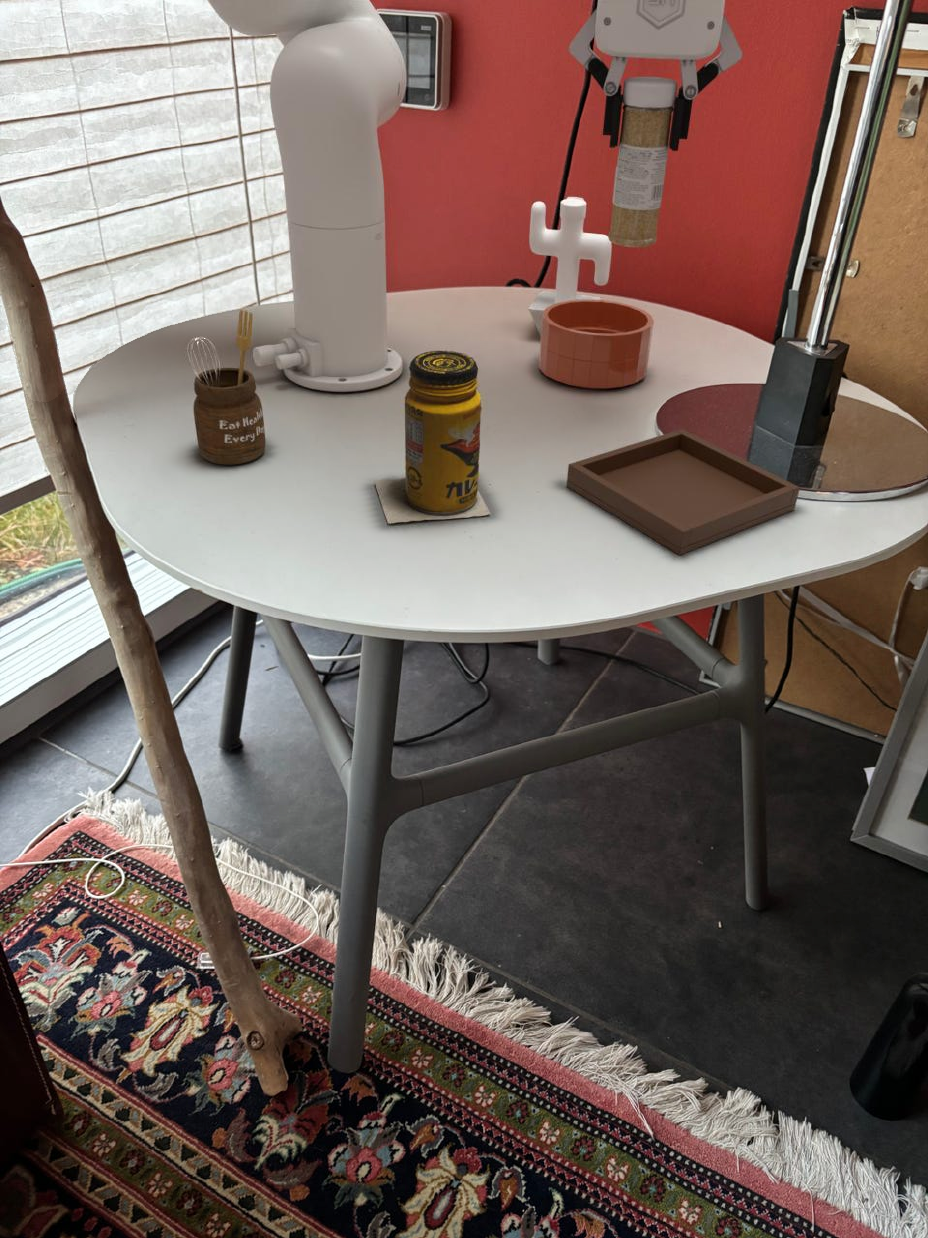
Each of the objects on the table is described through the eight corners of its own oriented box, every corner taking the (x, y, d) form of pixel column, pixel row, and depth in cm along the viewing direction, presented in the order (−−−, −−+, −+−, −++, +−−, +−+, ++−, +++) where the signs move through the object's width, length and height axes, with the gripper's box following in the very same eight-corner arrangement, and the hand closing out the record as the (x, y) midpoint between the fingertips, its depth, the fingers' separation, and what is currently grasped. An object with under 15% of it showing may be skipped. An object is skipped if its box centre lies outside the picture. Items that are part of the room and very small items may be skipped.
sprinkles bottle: (629, 233, 94) (648, 74, 86) (666, 244, 91) (689, 79, 83) (597, 240, 91) (613, 77, 83) (634, 251, 88) (654, 83, 81)
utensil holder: (185, 453, 87) (164, 321, 80) (238, 431, 92) (223, 303, 85) (230, 473, 85) (212, 337, 78) (282, 449, 89) (271, 317, 82)
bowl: (586, 400, 100) (592, 342, 96) (517, 364, 107) (520, 310, 104) (667, 377, 105) (676, 322, 102) (596, 345, 113) (602, 293, 110)
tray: (679, 555, 75) (683, 532, 74) (566, 486, 84) (568, 463, 83) (794, 509, 82) (800, 487, 81) (678, 449, 91) (681, 428, 90)
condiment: (490, 516, 80) (497, 374, 73) (387, 525, 78) (384, 381, 71) (470, 475, 85) (474, 341, 78) (374, 483, 84) (369, 346, 77)
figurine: (596, 348, 112) (612, 210, 104) (517, 338, 114) (525, 202, 106) (606, 328, 118) (621, 196, 109) (530, 319, 120) (538, 189, 111)
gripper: (561, -116, 74) (544, 149, 84) (791, -111, 72) (744, 159, 82) (567, -113, 80) (550, 134, 90) (779, -107, 78) (737, 144, 88)
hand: (643, 144), depth 86 cm, fingers closed on sprinkles bottle, 4 cm apart
